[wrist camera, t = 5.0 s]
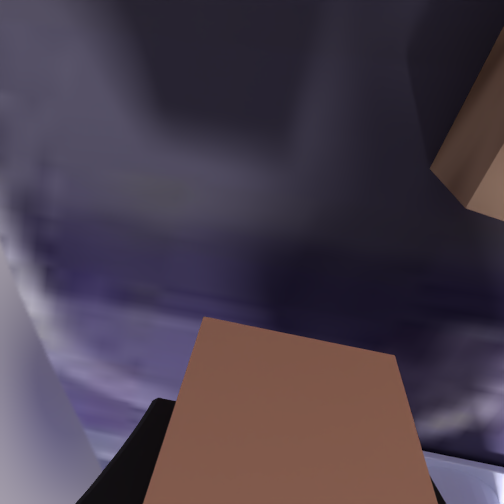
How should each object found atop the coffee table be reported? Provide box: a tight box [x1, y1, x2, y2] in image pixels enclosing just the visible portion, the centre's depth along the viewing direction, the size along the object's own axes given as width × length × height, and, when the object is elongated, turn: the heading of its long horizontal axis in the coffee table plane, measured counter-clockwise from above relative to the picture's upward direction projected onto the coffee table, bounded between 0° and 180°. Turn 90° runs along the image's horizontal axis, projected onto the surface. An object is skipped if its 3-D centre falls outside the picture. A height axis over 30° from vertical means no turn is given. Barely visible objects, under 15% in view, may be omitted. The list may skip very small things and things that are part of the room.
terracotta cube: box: [143, 317, 438, 504], centre depth 9 cm, size 4×4×5 cm
